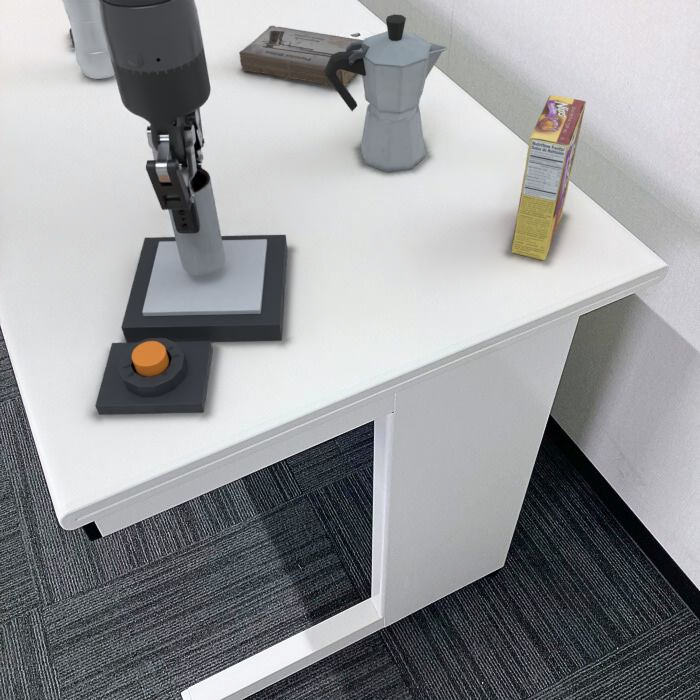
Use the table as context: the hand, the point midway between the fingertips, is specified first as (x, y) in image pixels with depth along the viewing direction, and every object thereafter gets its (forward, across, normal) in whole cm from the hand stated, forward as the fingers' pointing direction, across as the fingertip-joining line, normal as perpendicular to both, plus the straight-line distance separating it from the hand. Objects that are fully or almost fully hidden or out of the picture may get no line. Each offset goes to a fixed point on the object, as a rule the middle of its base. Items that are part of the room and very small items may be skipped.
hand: (192, 213), depth 72 cm
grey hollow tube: (+7, 0, 0) cm, 7 cm away
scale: (+11, 0, 0) cm, 11 cm away
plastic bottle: (+11, +49, +22) cm, 55 cm away
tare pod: (+11, -12, +4) cm, 17 cm away
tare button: (+9, -12, +4) cm, 15 cm away
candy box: (+11, +9, -37) cm, 40 cm away
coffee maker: (+11, +26, -20) cm, 35 cm away
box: (+11, +50, -9) cm, 52 cm away
